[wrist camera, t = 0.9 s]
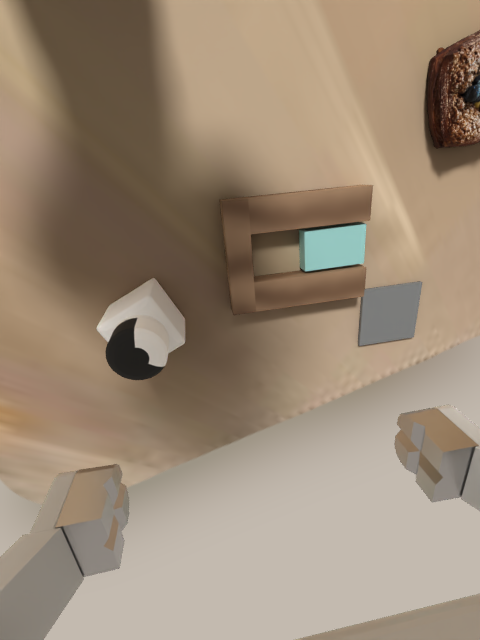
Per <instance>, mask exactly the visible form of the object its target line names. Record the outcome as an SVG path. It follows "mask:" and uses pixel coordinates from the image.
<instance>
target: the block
mask: <svg viewBox="0 0 480 640" xmlns="http://www.w3.org/2000/svg"><path fill="white" fill-rule="evenodd" d="M365 237H366V224H364V223H361V222H353V223H345V224H337V225H330V226H322V227H314V228H307V229H299V251H300V268H301V269H303V270H304V271H312V270H319V269H326V268H333V267H340V266H347V265H354V264H361V263H364V253H365Z"/></svg>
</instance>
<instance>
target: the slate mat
mask: <svg viewBox="0 0 480 640" xmlns="http://www.w3.org/2000/svg"><path fill="white" fill-rule="evenodd" d="M421 287H422V282H420V281H419V282H412V283H405V284H398V285H391V286H384V287H376V288H369V289H365V291H364V296H363V297H361V309H360V322H359V335H358V345H359V346H362V345H368V344H375V343H381V342H387V341H393V340H400V339H406V338H412V337H414V332H415V326H416V319H417V313H418V306H419V300H420V294H421Z"/></svg>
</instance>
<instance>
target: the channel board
mask: <svg viewBox="0 0 480 640" xmlns="http://www.w3.org/2000/svg"><path fill="white" fill-rule="evenodd" d="M372 190H373V185H356V186H347V187H337V188H327V189H318V190H308V191H299V192H289V193H279V194H270V195H260V196H251V197H241V198H231V199H222V200H220V208H221V217H222V227H223V236H224V246H225V255H226V265H227V274H228V284H229V293H230V303H231V309H232V312H233V315H237V314H244V313H251V312H258V311H265V310H272V309H279V308H286V307H293V306H300V305H307V304H314V303H321V302H328V301H335V300H342V299H349V298H356V297H363V296H364V291H365V279H366V267H364V266H362V265H360V264H354V265H347V266H340V267H333V268H326V269H319V270H312V271H304V270H301V271H293V272H286V273H278V274H270V275H263V276H255V277H254V274H253V260H252V246H251V234H258V233H267V232H275V231H284V230H292V229H301V228H310V227H318V226H327V225H335V224H344V223H352V222H361V221H369V220H370V215H371V202H372Z"/></svg>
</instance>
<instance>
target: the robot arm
mask: <svg viewBox="0 0 480 640" xmlns="http://www.w3.org/2000/svg"><path fill="white" fill-rule="evenodd" d="M397 425H398V426H399V427H400V429H401V430H400V431H399V432H398V434H397V435H396V436H395V449H396V453H397V456H398V458H399V460H400V462H401V463H402V464H403V466H404V467H405V468H406V469H407V470H409V471H411V472H413V473H414V474H416V482H417V484H418V485H419V486H420V488H421V489H422V490H423V492H424V493H425V494H426V495H427V497H428V498H429V499H430V501H431V502H436V501H441V500H448V499H453V498H459V497H461V499H462V500H464V501H465V502H467V503H468V504H470V505H471V506H473V507H475V508H476V509H478V510H479V511H480V428H479V427H478V426H477V425H476V424H475V423H473V422H472V421H471V420H470V419H468V418H467V417H466V416H465V415H464V414H462V413H461V412H460V411H459V410H458V409H456V408H455V407H453V406H451V405H444V406H439V407H434V408H429V409H423V410H418V411H413V412H407V413H402V414H400V416H399V417H398V422H397ZM121 478H122V471H121V469H120V466H119V465H117V464H114V465H108V466H101V467H95V468H88V469H81V470H78V471H71V472H64V473H59V474H58V475H57V476H56V477H55V478H54V480H53V482H52V485H51V487H50V489H49V491H48V494H47V496H46V498H45V500H44V503H43V505H42V507H41V509H40V512H39V514H38V516H37V518H36V520H35V523H34V525H33V527H32V530H31V532H30V534H25V535H23V536H22V537H20V538H19V539H18V540H17V541H16V542H15V543H14V544H13V545H12V546H11V547H10V548H9V549H8V550H7V551H6V552H5V553H4V554H3V555H2V556H1V557H0V640H44V638H45V637H46V635H47V634H48V632H49V631H50V629H51V628H52V626H53V625H54V623H55V622H56V620H57V619H58V617H59V616H60V614H61V613H62V611H63V610H64V608H65V607H66V605H67V604H68V602H69V601H70V599H71V598H72V596H73V595H74V593H75V592H76V590H77V589H78V587H79V586H80V584H81V583H82V581H83V580H84V578H83V577H86V576H90V575H94V574H98V573H102V572H107V571H111V570H115V569H119V568H120V563H121V557H122V551H123V546H124V538H123V535H122V532H121V531H122V530H123V529H124V527H125V526H126V525H127V523H128V516H129V497H128V491H127V487H126V486H125V485H124V484H122V483H121ZM295 640H480V594H476V595H472V596H468V597H464V598H460V599H456V600H452V601H448V602H444V603H440V604H436V605H432V606H428V607H424V608H420V609H416V610H412V611H408V612H404V613H400V614H396V615H392V616H388V617H384V618H380V619H376V620H372V621H368V622H364V623H360V624H356V625H352V626H348V627H344V628H340V629H336V630H332V631H328V632H324V633H320V634H316V635H312V636H308V637H304V638H300V639H295Z"/></svg>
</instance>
